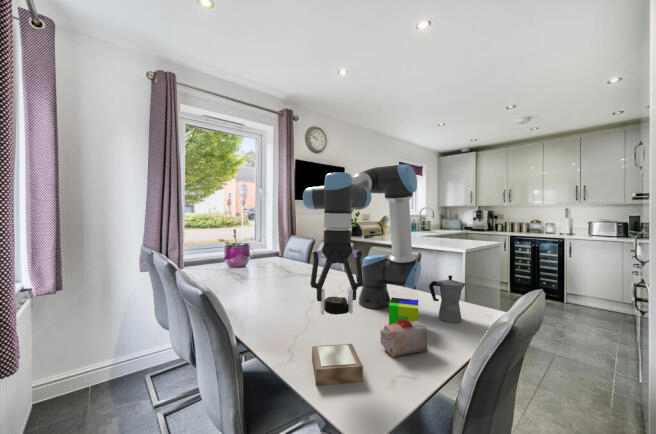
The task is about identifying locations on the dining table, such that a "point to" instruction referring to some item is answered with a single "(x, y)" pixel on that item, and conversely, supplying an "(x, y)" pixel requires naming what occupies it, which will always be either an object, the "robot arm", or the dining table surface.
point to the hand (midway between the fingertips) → (336, 312)
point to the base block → (336, 364)
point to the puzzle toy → (403, 310)
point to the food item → (404, 337)
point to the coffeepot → (448, 299)
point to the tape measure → (336, 305)
